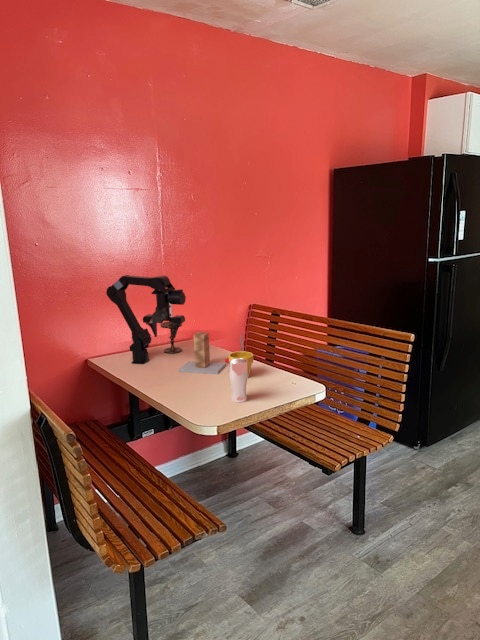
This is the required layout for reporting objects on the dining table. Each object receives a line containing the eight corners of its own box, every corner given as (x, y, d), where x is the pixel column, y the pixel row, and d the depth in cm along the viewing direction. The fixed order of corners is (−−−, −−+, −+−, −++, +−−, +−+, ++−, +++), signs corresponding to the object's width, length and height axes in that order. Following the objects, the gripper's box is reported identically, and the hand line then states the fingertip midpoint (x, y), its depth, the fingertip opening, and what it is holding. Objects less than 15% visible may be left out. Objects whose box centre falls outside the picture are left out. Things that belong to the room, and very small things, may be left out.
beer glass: (229, 396, 181) (227, 358, 178) (247, 395, 182) (246, 357, 179) (230, 403, 175) (229, 364, 171) (249, 402, 175) (248, 363, 172)
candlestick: (186, 348, 248) (182, 281, 241) (179, 354, 238) (175, 284, 231) (166, 348, 251) (162, 281, 243) (158, 353, 241) (154, 284, 233)
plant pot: (258, 377, 201) (257, 355, 199) (236, 382, 196) (236, 359, 194) (246, 371, 210) (245, 349, 208) (225, 375, 205) (224, 353, 203)
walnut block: (195, 367, 214) (193, 334, 210) (200, 364, 218) (198, 332, 215) (205, 368, 212) (203, 335, 209) (209, 365, 216) (208, 332, 213)
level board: (179, 371, 212) (178, 369, 212) (189, 363, 223) (189, 361, 223) (217, 374, 207) (217, 371, 207) (225, 365, 219) (225, 363, 218)
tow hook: (224, 364, 222) (244, 363, 221) (222, 337, 219) (242, 336, 218) (225, 359, 230) (245, 358, 229) (223, 333, 227) (243, 332, 227)
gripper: (135, 306, 212) (138, 340, 215) (174, 307, 207) (176, 342, 210) (147, 302, 223) (149, 334, 226) (184, 303, 217) (186, 336, 221)
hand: (165, 337), depth 220 cm, fingers open, 9 cm apart
